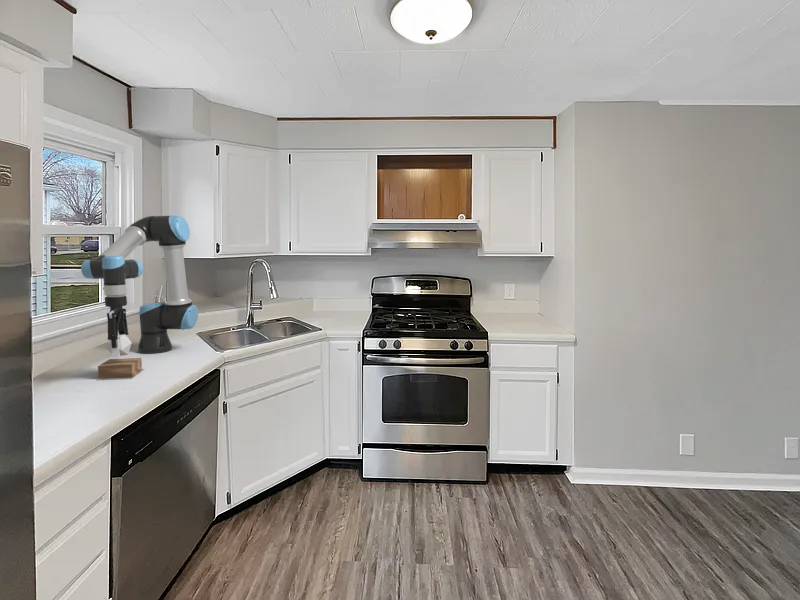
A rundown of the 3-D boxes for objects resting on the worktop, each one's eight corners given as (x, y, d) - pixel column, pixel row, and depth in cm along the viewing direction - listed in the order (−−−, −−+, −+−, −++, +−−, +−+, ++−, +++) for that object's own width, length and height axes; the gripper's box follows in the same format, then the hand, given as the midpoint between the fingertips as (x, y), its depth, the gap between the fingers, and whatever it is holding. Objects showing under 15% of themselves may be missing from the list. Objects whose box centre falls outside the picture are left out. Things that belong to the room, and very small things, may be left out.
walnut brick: (110, 371, 220) (109, 359, 219) (142, 370, 222) (141, 357, 221) (98, 378, 208) (97, 366, 208) (132, 377, 210) (131, 364, 209)
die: (131, 352, 220) (114, 334, 218) (140, 345, 215) (123, 326, 213) (115, 364, 214) (97, 345, 212) (124, 356, 209) (106, 337, 207)
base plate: (111, 373, 222) (110, 370, 222) (144, 371, 224) (144, 368, 224) (95, 383, 206) (95, 380, 206) (132, 381, 208) (131, 378, 208)
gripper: (114, 293, 221) (118, 349, 223) (94, 298, 201) (99, 359, 203) (134, 292, 222) (138, 348, 225) (116, 298, 202) (120, 359, 204)
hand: (119, 353), depth 214 cm, fingers closed on die, 8 cm apart
